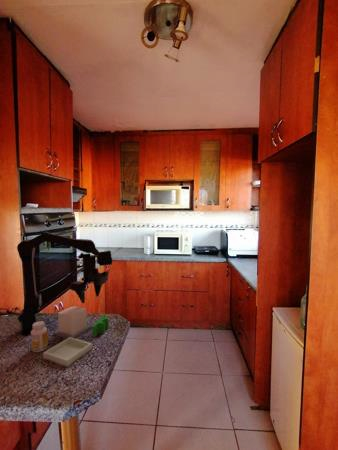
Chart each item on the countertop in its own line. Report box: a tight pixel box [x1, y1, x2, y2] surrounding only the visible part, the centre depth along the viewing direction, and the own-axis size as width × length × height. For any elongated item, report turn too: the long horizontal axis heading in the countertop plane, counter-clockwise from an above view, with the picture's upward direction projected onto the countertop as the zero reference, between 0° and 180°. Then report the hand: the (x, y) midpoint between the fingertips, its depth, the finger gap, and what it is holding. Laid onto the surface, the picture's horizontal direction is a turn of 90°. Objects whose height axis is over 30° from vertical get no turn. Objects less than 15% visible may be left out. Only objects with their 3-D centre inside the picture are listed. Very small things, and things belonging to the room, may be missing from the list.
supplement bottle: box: [30, 320, 49, 353], centre depth 92 cm, size 5×5×10 cm
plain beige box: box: [52, 305, 93, 339], centre depth 105 cm, size 11×11×9 cm
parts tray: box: [42, 337, 94, 368], centre depth 88 cm, size 12×12×2 cm
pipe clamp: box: [91, 314, 110, 338], centre depth 106 cm, size 11×4×5 cm, turn 173°
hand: (90, 299), depth 115 cm, fingers open, 9 cm apart
